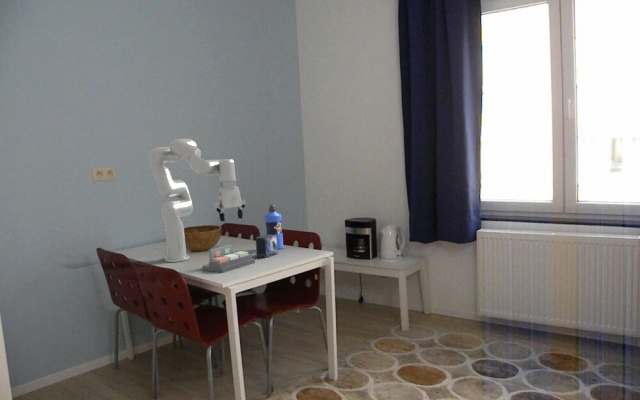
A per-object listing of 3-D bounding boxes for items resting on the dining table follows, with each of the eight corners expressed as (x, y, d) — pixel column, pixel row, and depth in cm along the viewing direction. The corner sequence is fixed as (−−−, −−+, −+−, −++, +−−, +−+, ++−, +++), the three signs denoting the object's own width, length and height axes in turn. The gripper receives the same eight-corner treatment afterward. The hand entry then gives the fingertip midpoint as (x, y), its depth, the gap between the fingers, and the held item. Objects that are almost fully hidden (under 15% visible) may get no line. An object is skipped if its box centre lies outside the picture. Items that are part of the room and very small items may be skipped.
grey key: (223, 260, 242) (222, 256, 242) (231, 257, 246) (230, 253, 246) (230, 261, 239) (230, 256, 239) (238, 258, 243) (238, 254, 243)
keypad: (202, 269, 240) (201, 251, 239) (235, 260, 256) (233, 243, 256) (222, 272, 231) (221, 253, 231) (254, 262, 248) (253, 244, 247)
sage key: (233, 257, 247) (232, 253, 247) (240, 255, 251) (240, 251, 251) (240, 258, 244) (240, 254, 244) (248, 255, 248) (247, 251, 248)
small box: (266, 258, 257) (264, 238, 256) (256, 257, 260) (254, 237, 259) (278, 254, 266) (277, 234, 265) (268, 253, 269) (267, 234, 268)
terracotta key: (212, 263, 237) (212, 258, 237) (221, 260, 241) (220, 256, 241) (220, 264, 234) (219, 259, 234) (228, 261, 238) (228, 257, 238)
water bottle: (287, 247, 281) (283, 203, 279) (276, 251, 273) (273, 205, 271) (273, 246, 286) (270, 203, 284) (263, 250, 278) (260, 205, 276)
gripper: (215, 186, 235) (219, 222, 237) (247, 183, 246) (250, 217, 247) (208, 186, 241) (211, 221, 243) (240, 183, 252) (243, 216, 253)
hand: (231, 219), depth 245 cm, fingers open, 9 cm apart
